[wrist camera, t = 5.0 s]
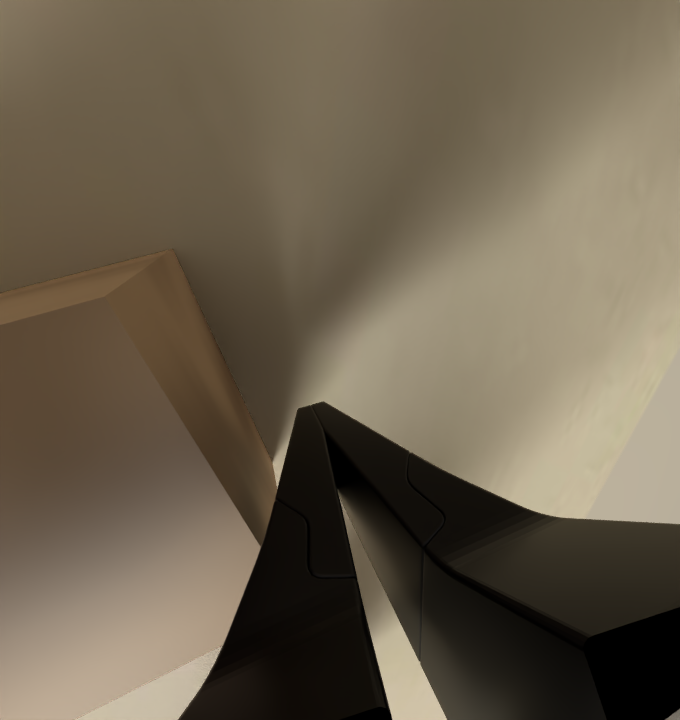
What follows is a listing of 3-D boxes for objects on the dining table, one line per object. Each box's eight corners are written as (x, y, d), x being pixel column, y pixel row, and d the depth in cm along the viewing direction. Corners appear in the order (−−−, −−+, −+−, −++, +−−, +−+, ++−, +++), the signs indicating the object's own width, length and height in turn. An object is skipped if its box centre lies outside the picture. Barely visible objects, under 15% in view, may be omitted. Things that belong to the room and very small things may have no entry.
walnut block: (272, 462, 12) (297, 607, 7) (74, 542, 10) (-32, 773, 6) (172, 248, 8) (105, 297, 3) (-168, 335, 6) (-954, 586, 2)
